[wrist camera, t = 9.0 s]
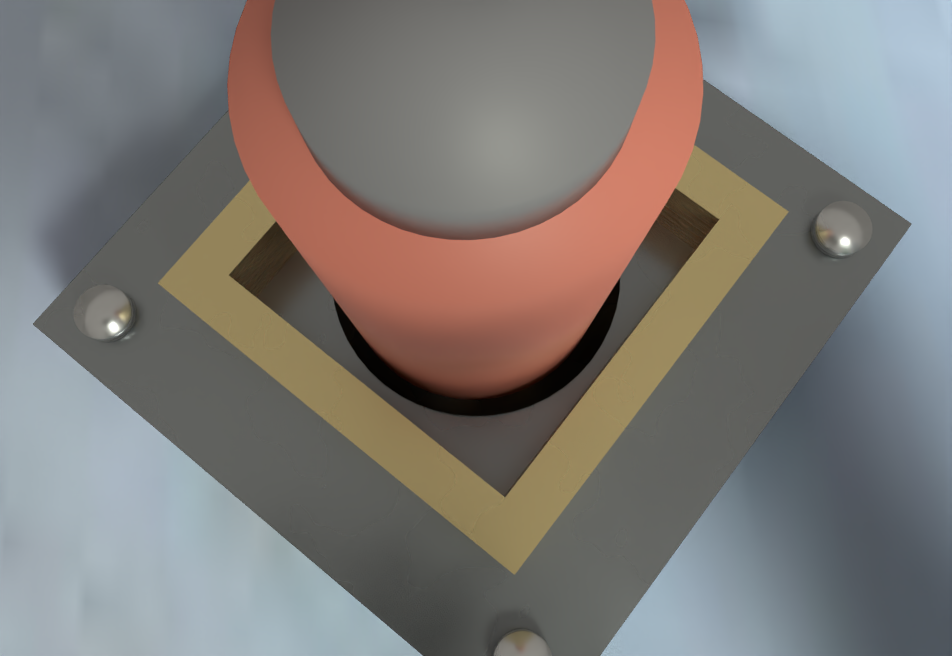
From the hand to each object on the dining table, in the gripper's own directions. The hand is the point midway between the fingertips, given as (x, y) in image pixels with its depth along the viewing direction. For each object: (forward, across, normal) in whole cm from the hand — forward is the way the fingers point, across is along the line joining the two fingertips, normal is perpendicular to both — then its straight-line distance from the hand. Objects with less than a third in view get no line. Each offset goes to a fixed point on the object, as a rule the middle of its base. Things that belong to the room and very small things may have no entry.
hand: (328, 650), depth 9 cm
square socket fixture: (+13, 0, +3) cm, 13 cm away
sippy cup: (+11, 0, +1) cm, 11 cm away
